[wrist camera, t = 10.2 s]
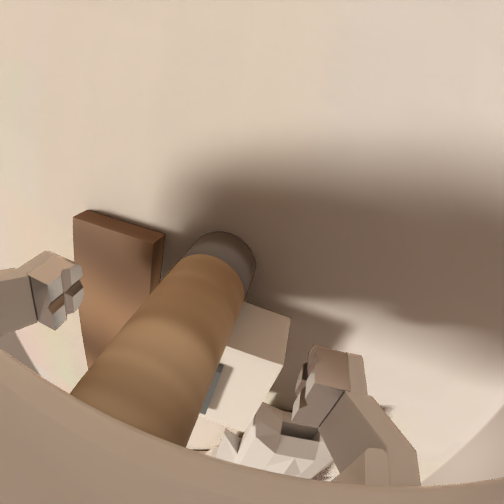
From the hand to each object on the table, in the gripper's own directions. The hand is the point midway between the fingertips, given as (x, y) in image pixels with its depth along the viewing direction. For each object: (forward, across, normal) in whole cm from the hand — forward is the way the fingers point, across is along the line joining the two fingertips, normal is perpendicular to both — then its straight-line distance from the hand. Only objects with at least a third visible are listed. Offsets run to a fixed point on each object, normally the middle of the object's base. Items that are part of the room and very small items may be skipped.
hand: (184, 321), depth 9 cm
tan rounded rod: (+4, 0, 0) cm, 4 cm away
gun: (+4, -5, +15) cm, 16 cm away
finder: (+4, -1, +4) cm, 5 cm away
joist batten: (+4, +4, +6) cm, 8 cm away
